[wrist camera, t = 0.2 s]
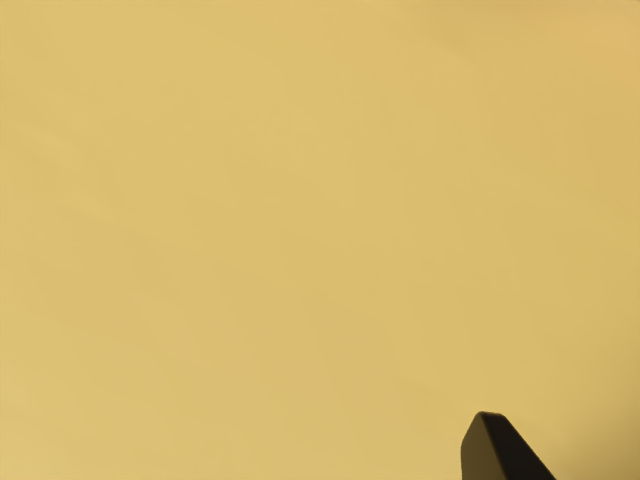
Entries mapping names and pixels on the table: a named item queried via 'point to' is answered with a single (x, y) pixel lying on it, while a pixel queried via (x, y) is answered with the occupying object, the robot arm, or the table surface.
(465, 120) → the table surface
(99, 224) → the table surface
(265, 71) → the table surface
